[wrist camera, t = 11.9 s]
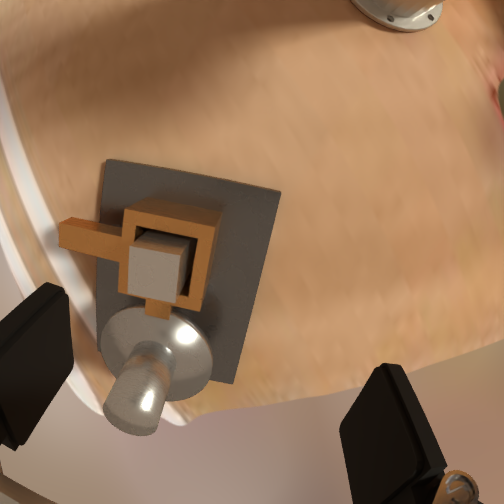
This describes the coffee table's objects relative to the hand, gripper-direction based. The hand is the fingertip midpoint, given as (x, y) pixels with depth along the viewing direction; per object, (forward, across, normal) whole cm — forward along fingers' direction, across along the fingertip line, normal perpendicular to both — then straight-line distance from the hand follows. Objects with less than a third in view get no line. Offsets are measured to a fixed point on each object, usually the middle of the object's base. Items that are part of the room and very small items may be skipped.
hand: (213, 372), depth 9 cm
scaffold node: (+24, +7, +11) cm, 27 cm away
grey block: (+24, +6, +6) cm, 25 cm away
